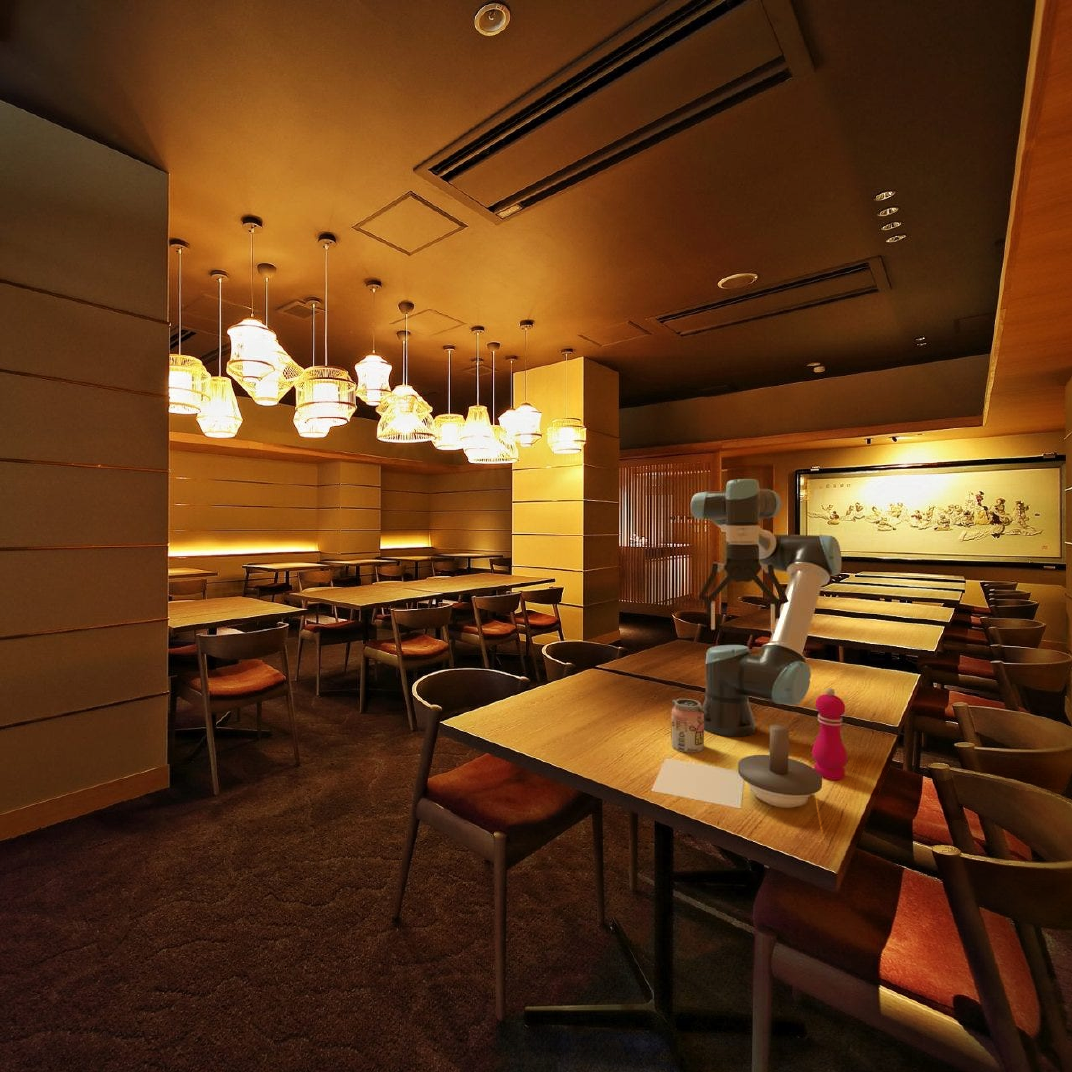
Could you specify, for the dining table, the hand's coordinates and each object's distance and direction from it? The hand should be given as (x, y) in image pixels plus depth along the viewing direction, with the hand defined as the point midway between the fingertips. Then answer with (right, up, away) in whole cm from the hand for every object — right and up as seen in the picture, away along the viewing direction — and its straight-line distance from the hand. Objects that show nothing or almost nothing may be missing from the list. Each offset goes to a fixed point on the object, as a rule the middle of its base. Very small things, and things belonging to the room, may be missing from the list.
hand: (742, 630), depth 131 cm
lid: (0, -27, -19) cm, 33 cm away
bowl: (0, -32, -19) cm, 37 cm away
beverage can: (-11, -32, +8) cm, 35 cm away
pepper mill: (+18, -32, -7) cm, 37 cm away
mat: (-14, -32, -11) cm, 37 cm away
